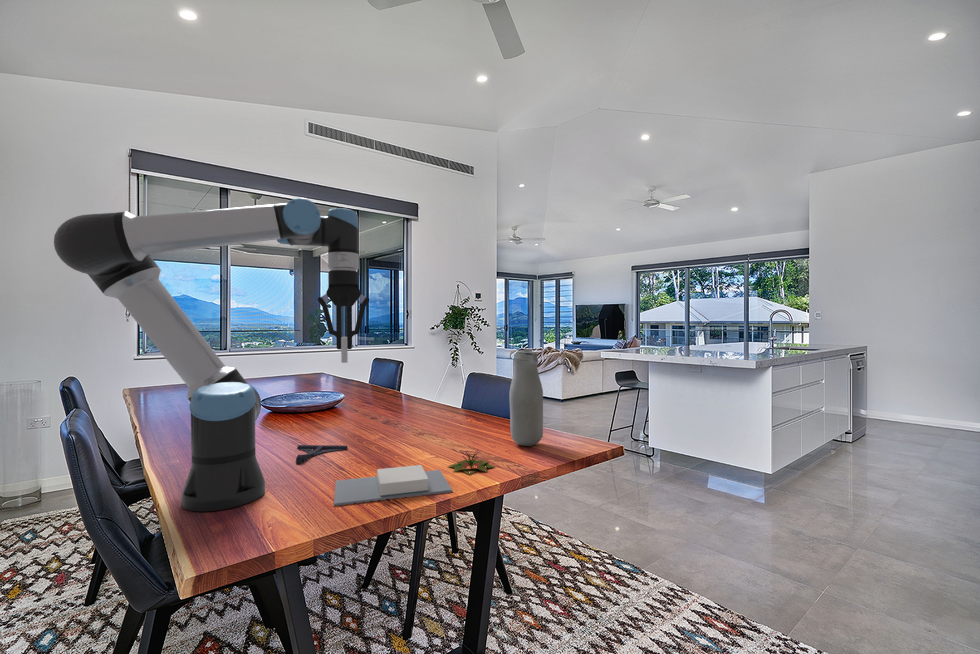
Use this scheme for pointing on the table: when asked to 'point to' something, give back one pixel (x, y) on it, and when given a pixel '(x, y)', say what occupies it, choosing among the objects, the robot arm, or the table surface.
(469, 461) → the lily flower
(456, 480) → the table surface
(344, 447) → the bracket
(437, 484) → the mat
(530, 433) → the grey bottle
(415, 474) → the tile
